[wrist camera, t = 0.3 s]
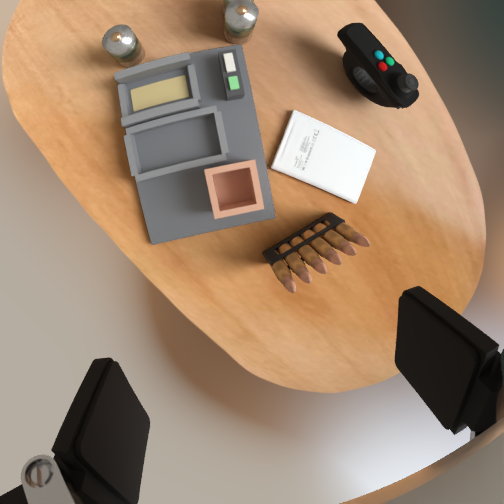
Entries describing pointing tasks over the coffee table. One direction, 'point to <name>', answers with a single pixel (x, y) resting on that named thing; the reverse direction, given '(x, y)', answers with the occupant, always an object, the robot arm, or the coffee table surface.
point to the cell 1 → (123, 45)
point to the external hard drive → (323, 157)
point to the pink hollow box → (234, 188)
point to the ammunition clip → (321, 240)
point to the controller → (376, 69)
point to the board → (189, 137)
